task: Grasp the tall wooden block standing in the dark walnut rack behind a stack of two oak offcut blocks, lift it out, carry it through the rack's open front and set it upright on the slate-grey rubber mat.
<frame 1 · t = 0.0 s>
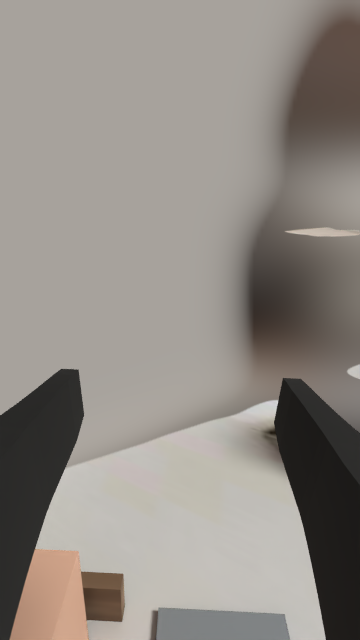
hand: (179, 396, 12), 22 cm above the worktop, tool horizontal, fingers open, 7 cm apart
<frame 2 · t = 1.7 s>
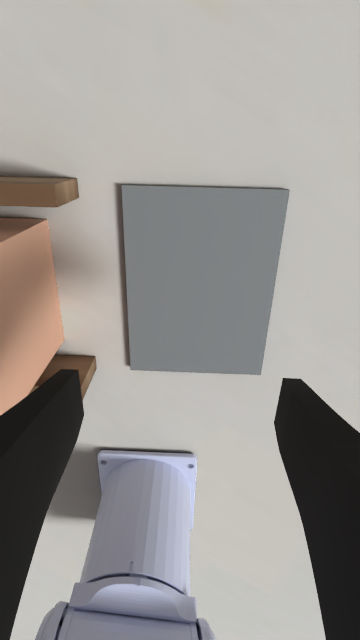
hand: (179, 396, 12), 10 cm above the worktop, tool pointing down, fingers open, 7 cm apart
tall wooden block: (33, 283, 22), on the worktop
mat: (199, 289, 22), on the worktop
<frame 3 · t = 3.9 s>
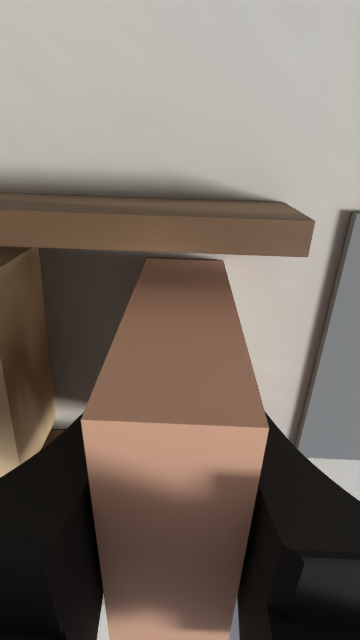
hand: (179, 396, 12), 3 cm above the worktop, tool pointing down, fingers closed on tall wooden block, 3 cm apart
tall wooden block: (181, 346, 15), on the worktop, touching gripper
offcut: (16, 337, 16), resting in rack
rack: (53, 342, 15), on the worktop
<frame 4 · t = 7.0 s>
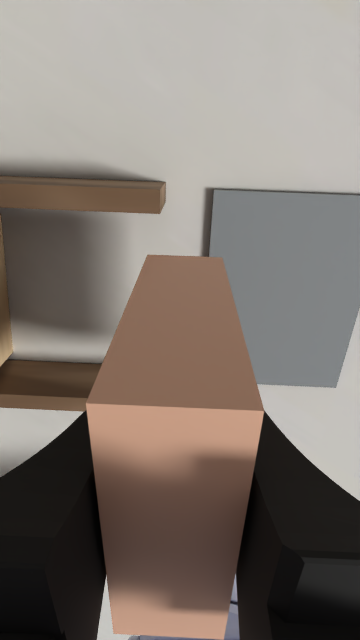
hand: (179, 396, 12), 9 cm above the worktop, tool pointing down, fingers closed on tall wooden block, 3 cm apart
tall wooden block: (181, 342, 16), point 6 cm above the worktop, touching gripper
mat: (281, 299, 21), on the worktop
rack: (10, 287, 21), on the worktop
when the fingers open (5 cm above the worktop, at t = 9.8 s): tall wooden block stays where it is, resting on mat.
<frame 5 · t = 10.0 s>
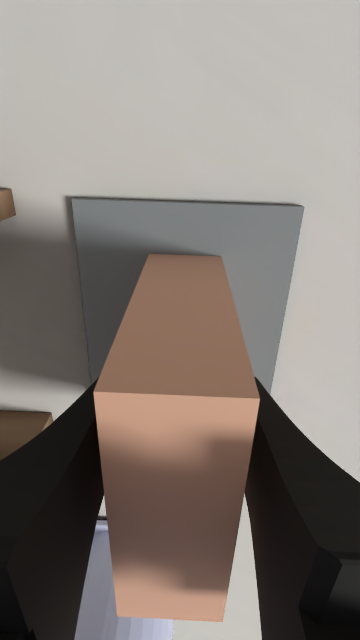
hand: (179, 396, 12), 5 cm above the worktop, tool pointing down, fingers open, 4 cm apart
tall wooden block: (182, 339, 16), resting on mat
mat: (182, 333, 16), on the worktop
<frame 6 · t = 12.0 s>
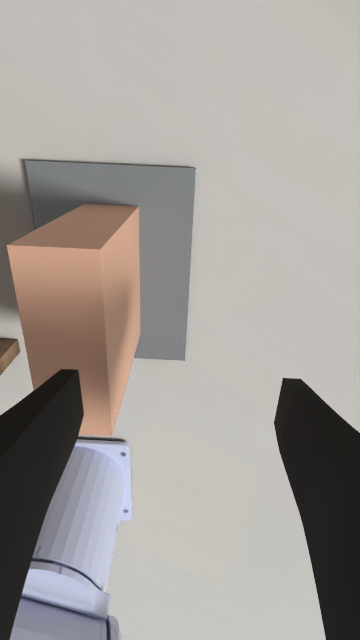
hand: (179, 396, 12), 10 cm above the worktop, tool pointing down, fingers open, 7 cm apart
tall wooden block: (114, 274, 21), resting on mat
mat: (116, 271, 21), on the worktop
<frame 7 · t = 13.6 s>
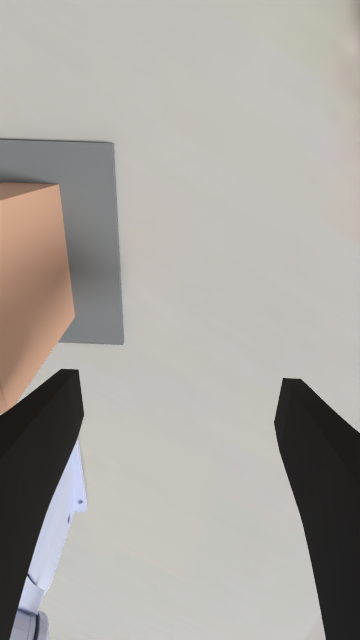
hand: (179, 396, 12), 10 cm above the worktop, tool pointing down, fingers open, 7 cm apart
tall wooden block: (42, 255, 20), resting on mat
mat: (45, 252, 21), on the worktop
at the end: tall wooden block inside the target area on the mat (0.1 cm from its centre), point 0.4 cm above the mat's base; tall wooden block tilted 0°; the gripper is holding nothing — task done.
